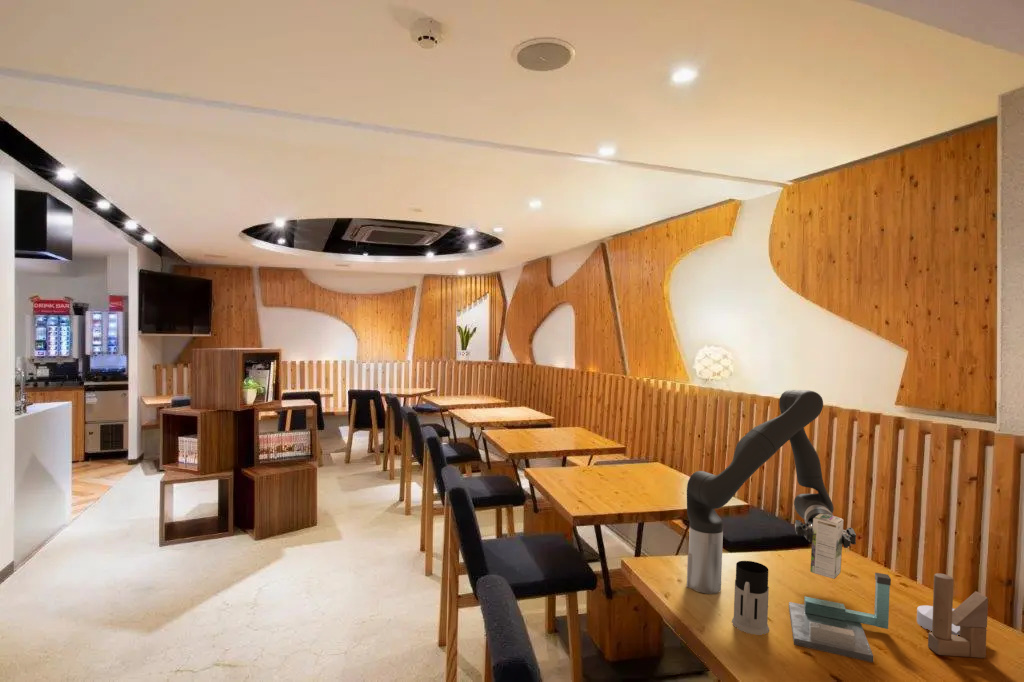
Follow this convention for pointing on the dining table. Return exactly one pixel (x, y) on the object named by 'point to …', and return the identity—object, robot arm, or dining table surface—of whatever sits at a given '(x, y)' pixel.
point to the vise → (829, 634)
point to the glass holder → (751, 598)
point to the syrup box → (827, 545)
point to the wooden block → (957, 622)
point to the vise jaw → (841, 613)
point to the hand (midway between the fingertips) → (828, 541)
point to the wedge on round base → (927, 616)
